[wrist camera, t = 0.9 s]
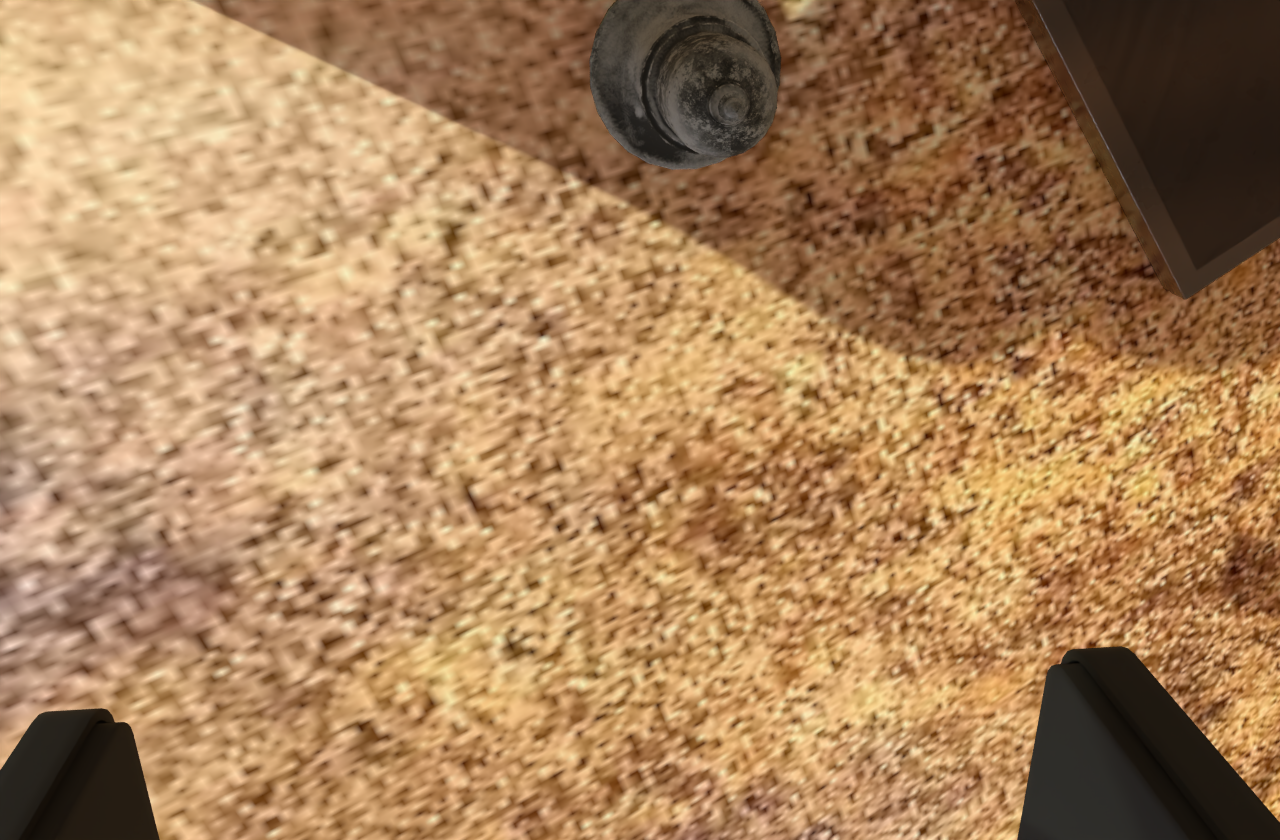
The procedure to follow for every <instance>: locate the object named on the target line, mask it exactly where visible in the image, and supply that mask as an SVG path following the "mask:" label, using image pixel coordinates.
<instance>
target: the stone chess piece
mask: <svg viewBox="0 0 1280 840" xmlns="http://www.w3.org/2000/svg"><path fill="white" fill-rule="evenodd" d="M780 66H781V56H780V51H779V46H778V41H777V36H776V32H775V30H774V28H773V26H772V24H771V22H770V20H769V18H768V16H767V13H766V11H765V9H764V8H763V7H762V6H761V5H760V3H759V2H758V1H757V0H617V1H616V2H615V3H614V4H613V5H612V6H611V7H610V8H609V9H608V11H607V13H606V15H605V17H604V19H603V21H602V23H601V25H600V27H599V28H598V30H597V32H596V35H595V39H594V43H593V48H592V52H591V56H590V87H591V91H592V95H593V98H594V102H595V105H596V109H597V112H598V114H599V116H600V117H601V119H602V121H603V122H604V124H605V126H606V128H607V129H608V131H609V133H610V134H611V135H612V136H613V137H614V138H615V139H616V140H617V141H618V142H619V143H620V144H621V145H622V146H623V147H624V148H625V149H626V150H627V151H628V152H630V153H631V154H633V155H635V156H637V157H638V158H640V159H642V160H644V161H645V162H647V163H649V164H653V165H657V166H661V167H665V168H669V169H698V168H702V167H705V166H709V165H712V164H715V163H719V162H721V161H723V160H724V159H726V158H728V157H731V156H735V155H738V154H742V153H744V152H745V151H747V150H749V149H750V148H752V147H754V146H755V145H756V144H757V143H758V142H759V141H760V140H761V139H762V138H763V137H764V136H765V134H766V133H767V131H768V129H769V127H770V126H771V124H772V122H773V119H774V115H775V112H776V109H777V91H778V88H779V85H780Z"/></svg>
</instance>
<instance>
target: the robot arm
mask: <svg viewBox="0 0 1280 840" xmlns="http://www.w3.org/2000/svg"><path fill="white" fill-rule="evenodd" d="M0 840H159V836H158V832H157V828H156V824H155V820H154V816H153V812H152V808H151V803H150V799H149V795H148V791H147V787H146V783H145V779H144V775H143V771H142V767H141V763H140V759H139V755H138V751H137V747H136V743H135V739H134V735H133V732H132V729H131V727H130V726H129V725H128V723H125V722H118V723H115V722H114V719H113V716H112V715H111V714H110V712H109V711H108V710H106V709H102V708H100V709H83V710H67V711H50V712H44V713H42V714H39V715H38V716H37V717H36V719H35V720H34V721H33V722H32V723H31V725H30V726H29V728H28V729H27V731H26V732H25V734H24V735H23V737H22V738H21V740H20V741H19V743H18V745H17V746H16V748H15V749H14V751H13V752H12V754H11V755H10V757H9V758H8V760H7V761H6V763H5V764H4V766H3V767H2V769H1V770H0ZM1017 840H1280V822H1279V821H1278V820H1277V819H1276V818H1275V817H1274V815H1273V814H1272V813H1271V812H1270V811H1269V810H1268V808H1267V807H1266V806H1265V805H1264V804H1263V803H1262V801H1261V800H1260V799H1259V798H1258V797H1257V796H1256V795H1255V793H1254V792H1253V791H1252V790H1251V789H1250V788H1249V786H1248V785H1247V784H1246V783H1245V782H1244V781H1243V779H1242V778H1241V777H1240V776H1239V775H1238V774H1237V772H1236V771H1235V770H1234V769H1233V768H1232V767H1231V765H1230V764H1229V763H1228V762H1227V761H1226V760H1225V759H1224V757H1223V756H1222V755H1221V754H1220V753H1219V752H1218V750H1217V749H1216V748H1215V747H1214V746H1213V745H1212V743H1211V742H1210V741H1209V740H1208V739H1207V738H1206V736H1205V735H1204V734H1203V733H1202V732H1201V731H1200V729H1199V728H1198V727H1197V726H1196V725H1195V724H1194V723H1193V721H1192V720H1191V719H1190V718H1189V717H1188V716H1187V714H1186V713H1185V712H1184V711H1183V710H1182V709H1181V707H1180V706H1179V705H1178V704H1177V703H1176V702H1175V700H1174V699H1173V698H1172V697H1171V696H1170V695H1169V693H1168V692H1167V691H1166V690H1165V689H1164V688H1163V687H1162V685H1161V684H1160V683H1159V682H1158V681H1157V680H1156V678H1155V677H1154V676H1153V675H1152V674H1151V673H1150V671H1149V670H1148V669H1147V668H1146V667H1145V666H1144V664H1143V663H1142V662H1141V661H1140V660H1139V659H1138V657H1137V656H1136V655H1135V654H1134V653H1133V652H1132V651H1130V650H1129V649H1128V648H1125V647H1121V646H1120V647H1104V648H1088V649H1072V650H1070V651H1067V653H1066V654H1065V655H1064V657H1063V659H1062V662H1061V664H1056V665H1053V666H1051V667H1050V669H1049V670H1048V673H1047V676H1046V682H1045V687H1044V693H1043V699H1042V704H1041V710H1040V715H1039V721H1038V727H1037V732H1036V738H1035V744H1034V749H1033V755H1032V760H1031V766H1030V772H1029V777H1028V783H1027V789H1026V794H1025V800H1024V806H1023V811H1022V817H1021V822H1020V828H1019V834H1018V839H1017Z"/></svg>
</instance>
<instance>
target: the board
mask: <svg viewBox="0 0 1280 840" xmlns="http://www.w3.org/2000/svg"><path fill="white" fill-rule="evenodd" d="M1015 2H1016V4H1017V5H1018V7H1019V9H1020V11H1021V13H1022V15H1023V17H1024V19H1025V21H1026V23H1027V25H1028V27H1029V29H1030V31H1031V33H1032V35H1033V36H1034V38H1035V40H1036V42H1037V44H1038V46H1039V48H1040V50H1041V52H1042V54H1043V56H1044V58H1045V60H1046V62H1047V64H1048V65H1049V67H1050V69H1051V71H1052V73H1053V75H1054V77H1055V79H1056V81H1057V83H1058V85H1059V87H1060V89H1061V91H1062V93H1063V94H1064V96H1065V98H1066V100H1067V102H1068V104H1069V106H1070V108H1071V110H1072V112H1073V114H1074V116H1075V118H1076V120H1077V122H1078V124H1079V125H1080V127H1081V129H1082V131H1083V133H1084V135H1085V137H1086V139H1087V141H1088V143H1089V145H1090V147H1091V149H1092V151H1093V153H1094V154H1095V156H1096V158H1097V160H1098V162H1099V164H1100V166H1101V168H1102V170H1103V172H1104V174H1105V176H1106V178H1107V180H1108V182H1109V183H1110V185H1111V187H1112V189H1113V191H1114V193H1115V195H1116V197H1117V199H1118V201H1119V203H1120V205H1121V207H1122V209H1123V211H1124V213H1125V214H1126V216H1127V218H1128V220H1129V222H1130V224H1131V226H1132V228H1133V230H1134V232H1135V234H1136V236H1137V238H1138V240H1139V242H1140V243H1141V245H1142V247H1143V249H1144V251H1145V253H1146V255H1147V257H1148V259H1149V261H1150V263H1151V265H1152V267H1153V269H1154V271H1155V273H1156V274H1157V276H1158V278H1159V280H1160V282H1161V284H1162V286H1163V288H1164V289H1166V290H1168V291H1170V292H1171V293H1173V294H1175V295H1177V296H1179V297H1181V298H1183V299H1188V298H1189V297H1191V296H1192V295H1194V294H1195V293H1197V292H1198V291H1200V290H1201V289H1203V288H1204V287H1206V286H1207V285H1209V284H1210V283H1212V282H1213V281H1215V280H1217V279H1218V278H1220V277H1221V276H1223V275H1224V274H1226V273H1227V272H1229V271H1230V270H1232V269H1233V268H1235V267H1236V266H1238V265H1239V264H1241V263H1242V262H1244V261H1245V260H1247V259H1249V258H1250V257H1252V256H1253V255H1255V254H1256V253H1258V252H1259V251H1261V250H1262V249H1264V248H1265V247H1267V246H1268V245H1270V244H1271V243H1273V242H1274V241H1276V240H1277V239H1279V238H1280V0H1015Z"/></svg>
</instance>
